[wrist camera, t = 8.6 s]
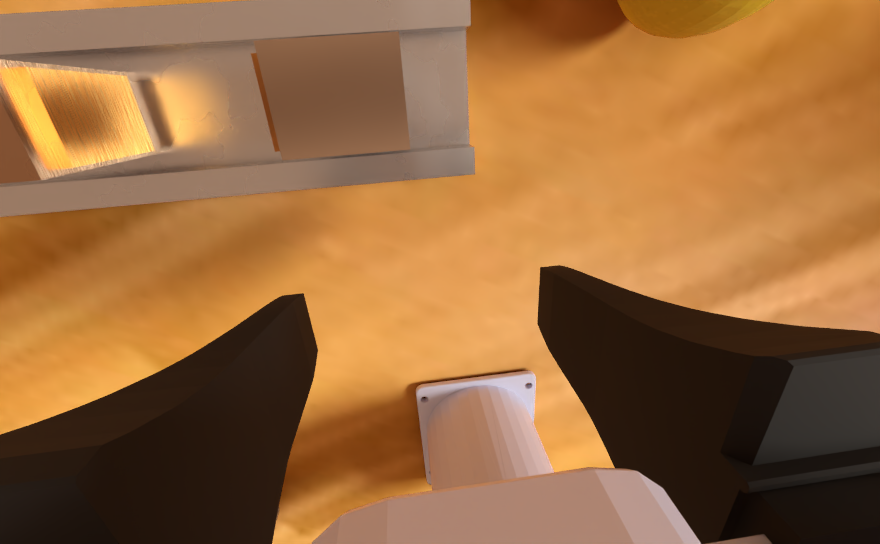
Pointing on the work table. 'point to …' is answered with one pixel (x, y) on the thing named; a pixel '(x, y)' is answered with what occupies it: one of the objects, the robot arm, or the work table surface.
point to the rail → (204, 101)
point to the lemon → (687, 15)
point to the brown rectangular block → (333, 94)
